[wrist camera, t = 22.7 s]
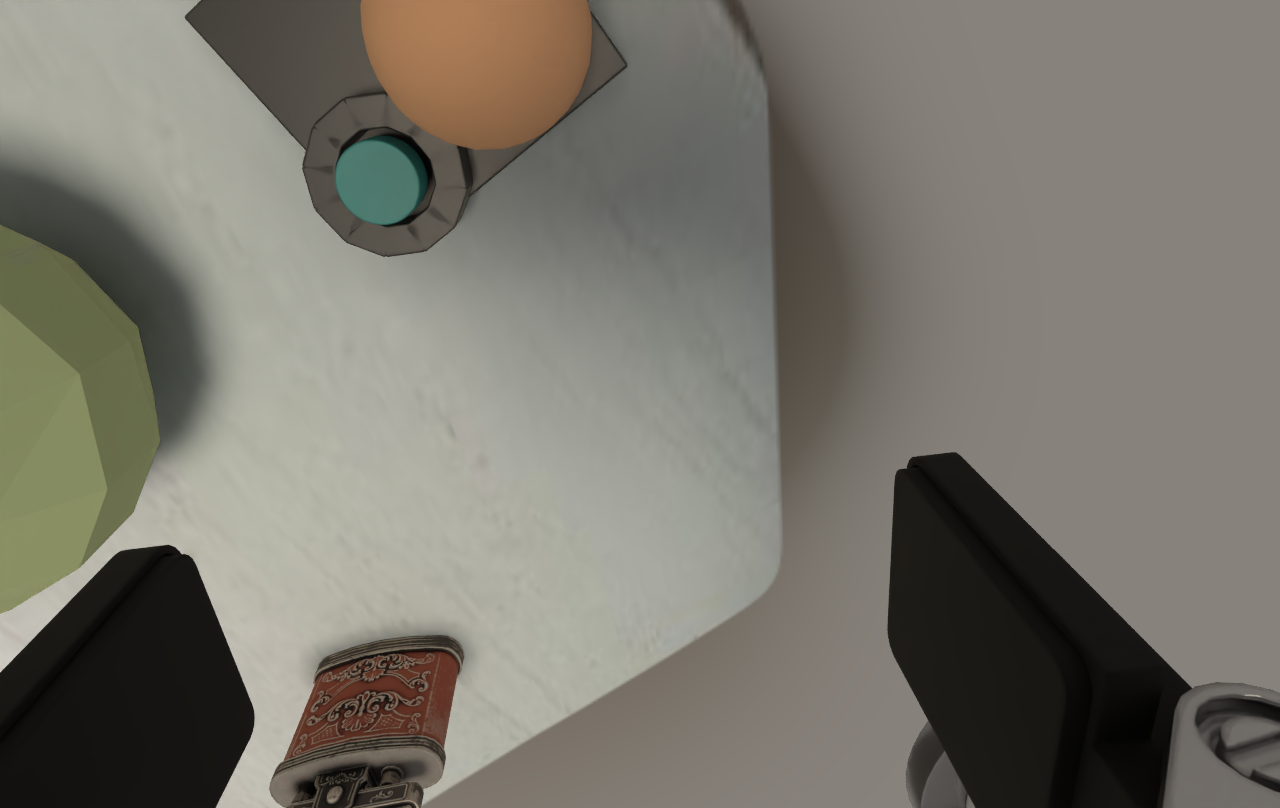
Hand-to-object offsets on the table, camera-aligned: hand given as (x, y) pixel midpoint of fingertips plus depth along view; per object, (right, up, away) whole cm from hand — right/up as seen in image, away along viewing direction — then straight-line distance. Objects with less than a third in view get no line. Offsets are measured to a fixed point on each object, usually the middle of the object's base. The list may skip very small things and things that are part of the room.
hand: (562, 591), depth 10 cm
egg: (-5, +17, +18) cm, 25 cm away
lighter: (-13, -12, +32) cm, 36 cm away
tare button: (-9, +11, +19) cm, 23 cm away
